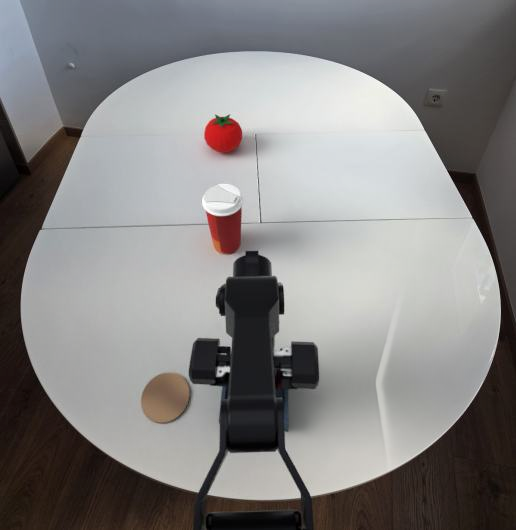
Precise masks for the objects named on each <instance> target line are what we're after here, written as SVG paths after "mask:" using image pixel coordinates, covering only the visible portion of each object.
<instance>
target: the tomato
mask: <svg viewBox="0 0 516 530" xmlns="http://www.w3.org/2000/svg"><path fill="white" fill-rule="evenodd" d="M214 116H215V117H214V118H211V120H209V121H208V123H207V124H206V126H205V128H204V131H203V133H204V134H203V137H204V140H205V143H206V145H207V146H208V147H209V148H210V149H211V150H212V151H215V152H217V153H223V154H224V153H230V152H232V151H234V150H235V149H237V148H238V147H239V146H240V145H241V142H242V140H243V129H242V127H241V125H240V123H239V122H238V121H236V120H235V119H234V118H232V117H230V116H231V114H227V115H225V116H220V115H218V114H214Z"/></svg>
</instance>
